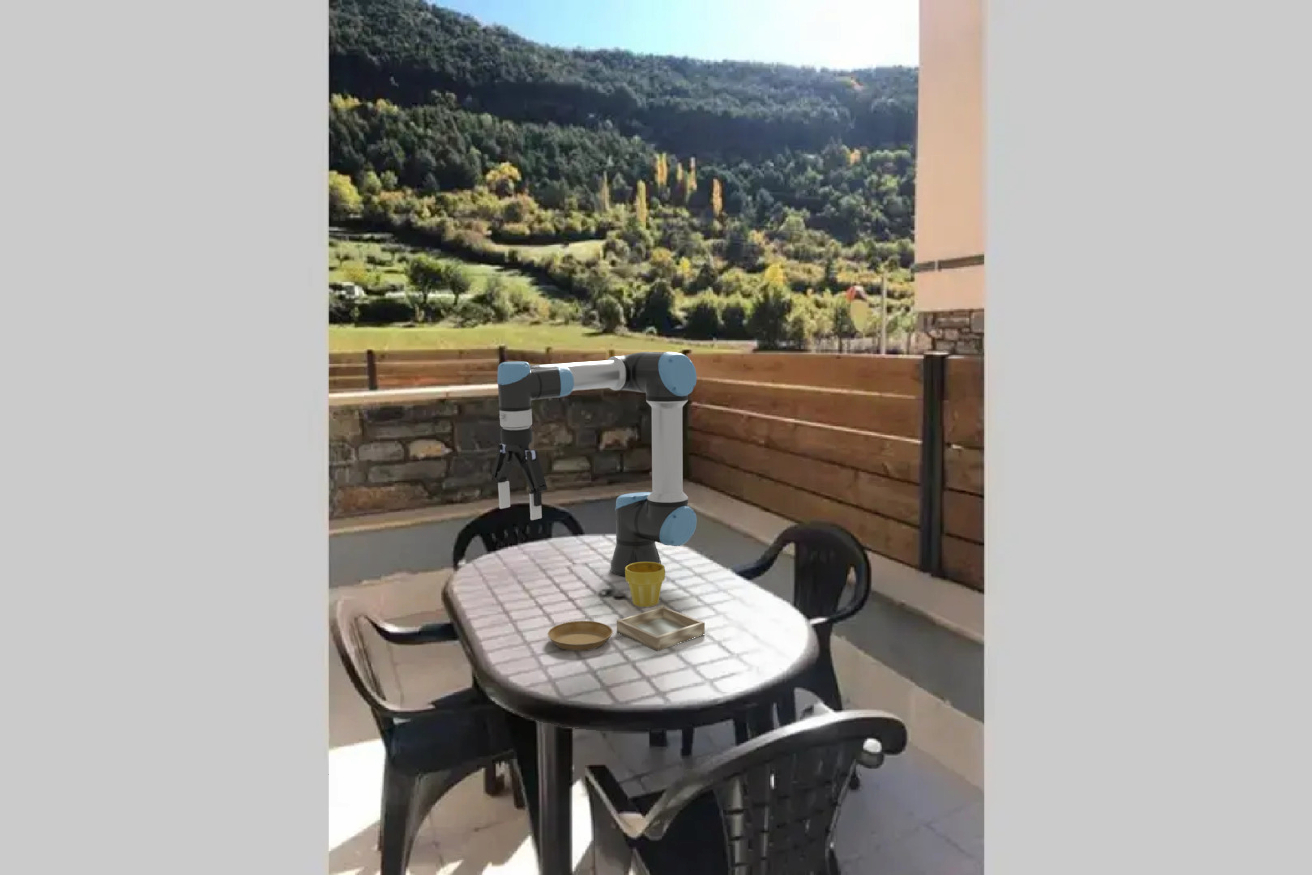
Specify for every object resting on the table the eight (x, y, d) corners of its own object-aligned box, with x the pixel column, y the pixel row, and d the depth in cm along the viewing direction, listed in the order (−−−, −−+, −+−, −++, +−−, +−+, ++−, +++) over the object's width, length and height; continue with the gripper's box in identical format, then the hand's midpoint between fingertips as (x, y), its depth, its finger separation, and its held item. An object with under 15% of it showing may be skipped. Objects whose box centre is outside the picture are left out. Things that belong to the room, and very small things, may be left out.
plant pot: (621, 608, 205) (621, 571, 203) (629, 595, 215) (629, 560, 213) (661, 610, 203) (661, 573, 202) (667, 597, 213) (667, 562, 212)
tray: (663, 618, 198) (663, 606, 197) (704, 634, 187) (704, 622, 186) (616, 632, 188) (616, 620, 188) (656, 651, 177) (656, 638, 177)
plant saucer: (553, 630, 191) (553, 620, 190) (615, 631, 190) (615, 620, 190) (542, 655, 176) (542, 643, 176) (609, 655, 175) (609, 644, 175)
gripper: (475, 422, 197) (479, 506, 201) (532, 436, 179) (536, 527, 183) (501, 419, 202) (505, 500, 206) (560, 431, 184) (563, 520, 188)
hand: (520, 513), depth 194 cm, fingers open, 13 cm apart
